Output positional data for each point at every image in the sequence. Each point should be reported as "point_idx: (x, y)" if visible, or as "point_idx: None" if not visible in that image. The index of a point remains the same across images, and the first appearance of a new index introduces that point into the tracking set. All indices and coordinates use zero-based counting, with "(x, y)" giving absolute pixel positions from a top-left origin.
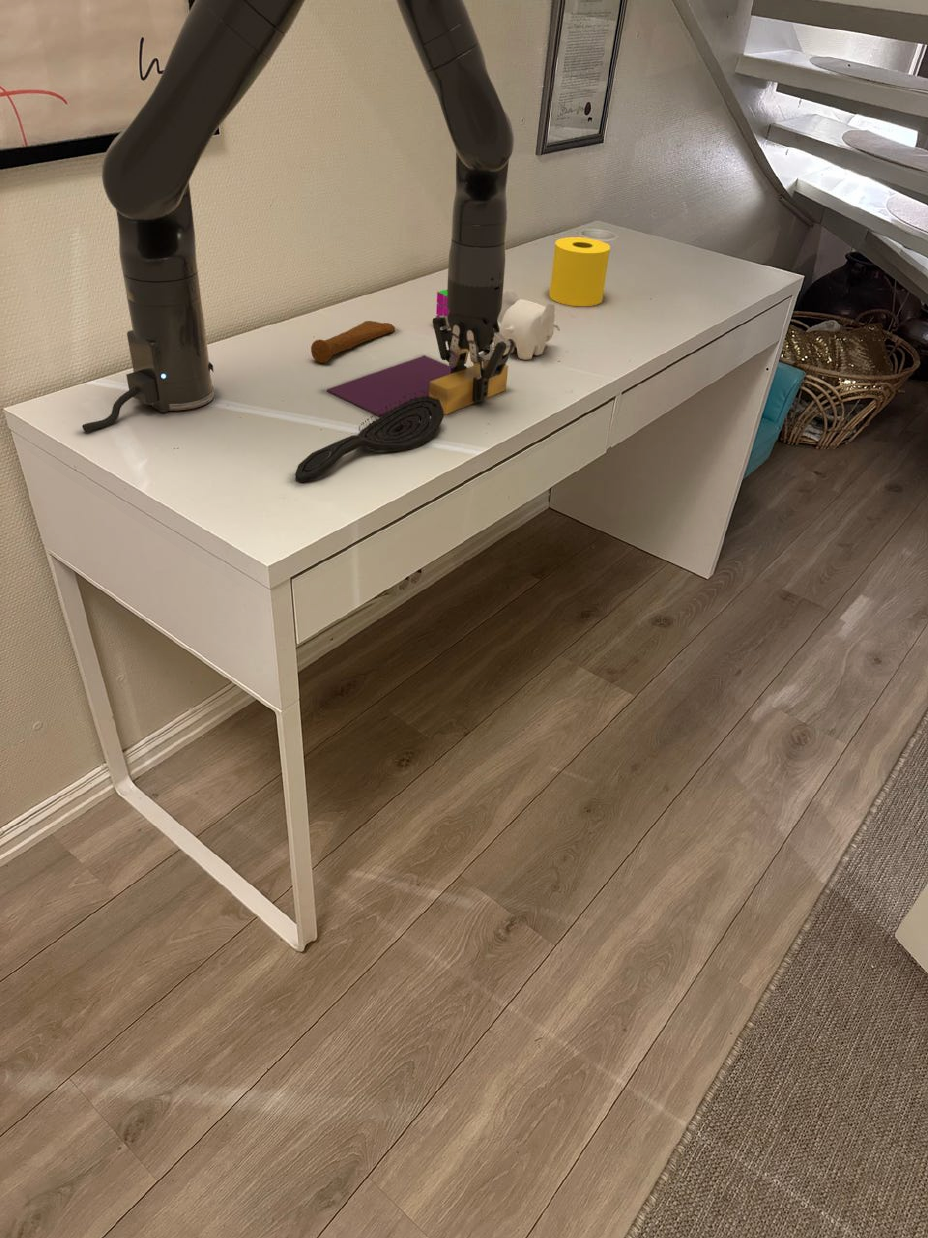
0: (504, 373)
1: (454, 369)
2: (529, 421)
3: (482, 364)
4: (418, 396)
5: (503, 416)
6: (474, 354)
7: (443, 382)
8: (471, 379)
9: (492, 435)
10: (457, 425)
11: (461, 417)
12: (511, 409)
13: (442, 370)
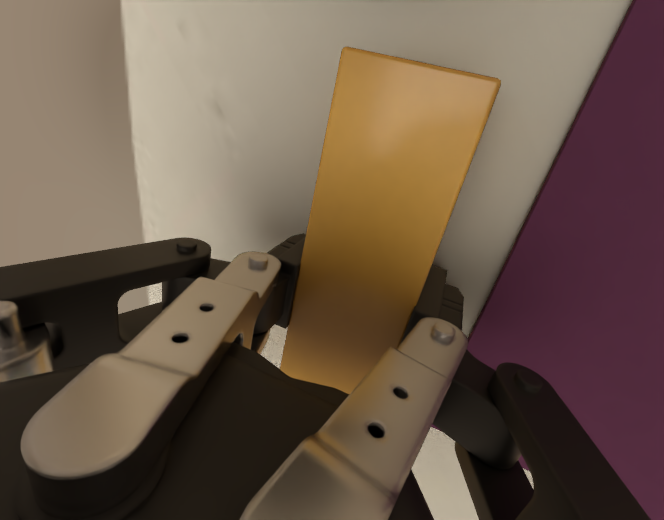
0: None
1: (427, 316)
2: (152, 207)
3: None
4: (591, 151)
5: (217, 196)
6: (192, 301)
7: (409, 129)
8: (305, 255)
9: (161, 27)
10: (293, 6)
11: (318, 92)
12: (227, 257)
13: None
